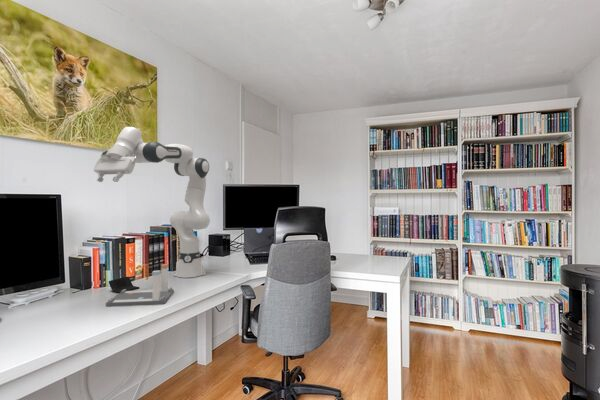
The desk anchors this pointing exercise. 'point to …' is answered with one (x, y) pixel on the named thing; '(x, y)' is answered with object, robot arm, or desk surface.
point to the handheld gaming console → (122, 285)
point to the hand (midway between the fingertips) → (107, 181)
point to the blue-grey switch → (156, 284)
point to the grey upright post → (164, 277)
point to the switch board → (139, 298)
